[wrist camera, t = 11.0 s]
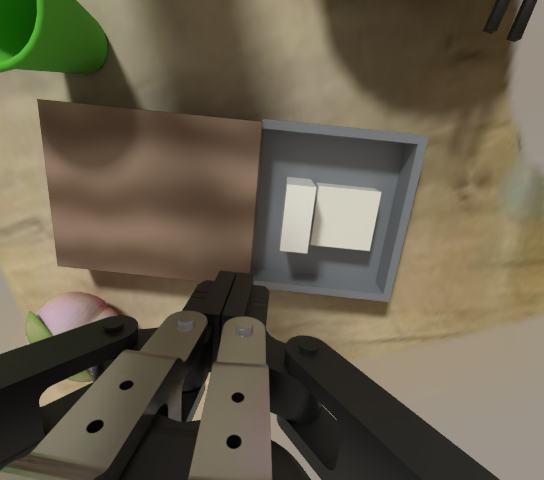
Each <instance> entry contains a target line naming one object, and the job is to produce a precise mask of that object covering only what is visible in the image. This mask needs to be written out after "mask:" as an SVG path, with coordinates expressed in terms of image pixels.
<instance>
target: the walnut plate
mask: <svg viewBox="0 0 544 480" xmlns="http://www.w3.org/2000/svg"><path fill="white" fill-rule="evenodd" d="M37 102H38V110H39V118H40V126H41V134H42V142H43V150H44V158H45V167H46V175H47V183H48V191H49V199H50V207H51V215H52V223H53V231H54V240H55V248H56V256H57V264H58V266H62V267H71V268H81V269H90V270H99V271H109V272H118V273H127V274H137V275H146V276H155V277H165V278H174V279H183V280H192V281H202V282H204V281H205V280H212V281H215V279H216V277H217V275H218V273H219V271H220V270H222V271H232V272H237V273H238V272H242V273H251V272H252V268H253V256H254V244H255V232H256V220H257V208H258V197H259V185H260V173H261V161H262V149H263V137H264V129H262V122H258V121H248V120H238V119H228V118H219V117H209V116H199V115H189V114H179V113H169V112H159V111H149V110H140V109H130V108H120V107H110V106H100V105H90V104H80V103H70V102H60V101H51V100H41V99H37Z"/></svg>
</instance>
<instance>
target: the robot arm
mask: <svg viewBox="0 0 544 480" xmlns="http://www.w3.org/2000/svg"><path fill="white" fill-rule="evenodd" d="M268 301H269V291H268V290H267V288H266V287H265V286H260V285H254V274H251V273H242V272H238V273H237V272H232V271H222V270H220V271H219V273H218V275H217V277H216V279H215V281H212V280H205V281H204V282H202V283H200V284H199V285H198V286H197V287H196V289H195V291H194V292H193V294H192V296H191V297H190V299H189V300H188V302H187V304H186V305H185V307H184V309H183V310H182V311H180V312H176V313H174V314H171V315H170V316H168V317H167V318H166V319H165V321H164V322H163V323H162V324H161V325H160V327H158V328H150V329H139V330H138V322H137V321H136V320H135V319H134V318H132V317H129V316H122V315H119V316H111V317H107V318H103V319H100V320H98V321H95V322H92V323H89V324H86V325H83V326H80V327H77V328H74V329H72V330H69V331H66V332H63V333H60V334H57V335H54V336H51V337H48V338H46V339H43V340H40V341H37V342H34V343H31V344H28V345H26V346H23V347H20V348H17V349H14V350H11V351H8V352H5V353H2V354H0V480H311V479H310V478H309V476H308V475H307V474H306V472H305V471H304V470H303V468H302V467H301V465H300V464H299V463H298V461H297V460H296V459H295V458H294V457H293V456H292V455H291V454H290V453H289V452H288V451H287V450H286V449H284V448H283V447H282V446H280V445H279V444H277V443H276V442H274V441H272V440H271V430H270V429H271V428H270V412H271V413H274V414H277V421H278V424H279V426H280V427H281V429H282V430H283V431H284V433H285V434H286V435H287V436H288V438H289V439H290V440H291V442H292V443H293V444H294V445H295V447H296V448H297V449H298V450H299V452H300V453H301V454H302V456H303V457H304V458H305V459H306V461H307V462H308V463H309V464H310V466H311V467H312V468H313V470H314V471H315V472H316V473H317V475H318V476H319V477H320V478H321V480H499V479H498V478H497V477H496V476H494V475H493V474H492V473H491V472H489V471H488V470H487V469H485V468H484V467H483V466H481V465H480V464H479V463H478V462H476V461H475V460H474V459H473V458H471V457H470V456H469V455H468V454H466V453H465V452H464V451H462V450H461V449H460V448H458V447H457V446H456V445H455V444H453V443H452V442H451V441H450V440H448V439H447V438H446V437H445V436H443V435H442V434H440V433H439V432H438V431H437V430H436V429H434V428H433V427H432V426H430V425H429V424H428V423H426V422H425V421H424V420H423V419H421V418H420V417H419V416H418V415H416V414H415V413H414V412H413V411H411V410H410V409H409V408H407V407H406V406H405V405H404V404H402V403H401V402H400V401H398V400H397V399H396V398H395V397H393V396H392V395H391V394H390V393H388V392H387V391H386V390H384V389H383V388H382V387H381V386H379V385H378V384H376V383H375V382H374V381H373V380H372V379H370V378H369V377H368V376H366V375H365V374H364V373H363V372H361V371H360V370H359V369H358V368H356V367H355V366H354V365H352V364H351V363H350V362H349V361H347V360H346V359H345V358H343V357H342V356H341V355H340V354H338V353H337V352H336V351H335V350H333V349H332V348H331V347H329V346H328V345H327V344H326V343H324V342H323V341H321V340H319V339H317V338H315V337H311V336H296V337H293V338H291V339H290V340H289V341H288V342H287V343H283V342H281V341H278V340H276V339H274V338H273V337H271V336H270V335H269V333H268V332H267V330H266V320H267V310H268ZM89 368H92V373H93V383H91V384H89V385H87V386H85V387H83V388H80V389H78V390H76V391H74V392H72V393H70V394H68V395H66V396H64V397H62V398H60V399H58V400H56V401H53V402H52V403H49V404H47V405H45V406H43V407H40V406H39V399H40V396H41V395H42V393H43V392H44V391H45V390H46V389H47V388H48V387H50V386H52V385H54V384H56V383H58V382H60V381H62V380H65V379H67V378H69V377H71V376H74V375H76V374H78V373H80V372H83V371H85V370H87V369H89ZM209 372H211V375H210V380H209V384H208V389H207V394H206V398H205V403H204V408H203V412H202V418H201V420H197V421H192V419H193V417H194V414H195V412H196V410H197V407H198V405H199V403H200V400H201V398H202V395H203V393H204V391H205V381H206V379H207V376H208V373H209ZM322 405H323V406H324V407H325V408H326V409H327V410H328V411H329V412H330V413H331V414H332V415H333V416H334V417H335V418H336V419H337V420H336V419H335V418H334V417H333V416H332V415H331V414H330V413H329V412H328V411H327V410H326V409H325V408H324V407H323V406H322Z"/></svg>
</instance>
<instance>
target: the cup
mask: <svg viewBox="0 0 544 480" xmlns="http://www.w3.org/2000/svg"><path fill="white" fill-rule="evenodd" d="M106 56H107V40H106V37H105V34H104V32H103V29H102V28H101V26H100V25H99V23H98V22H97V21H96V20H95V19H94V18H93V17H92V16H91V15H90V14H89V13H88V12H87V11H86V10H85V9H84V8H83V7H82V6H81V5H80V4H79V3H78V2H77V1H76V0H0V72H4V71H8V70H12V69H22V70H36V71H50V72H64V73H78V74H88V73H92V72H94V71H96V70H98V69H99V68H100V67H101V66H102V65H103V63H104V61H105V60H106Z"/></svg>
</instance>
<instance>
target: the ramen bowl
mask: <svg viewBox="0 0 544 480" xmlns="http://www.w3.org/2000/svg"><path fill="white" fill-rule="evenodd" d="M509 2H510V0H497V1H496V3H495V6H494V8H493V10H492V12H491V14H490V16H489V19H488V21H487V23H486V25H485V27H484V29H483V31H484V32H487V33H490V34H492V33H493V32H495V31H497V29H498V27H499V24H500V22H501V20H502V18H503V15H504V13H505V11H506V9H507V6H508V4H509ZM536 2H537V0H523V2H522V5H521V7H520V9H519V12H518V14H517V16H516V18H515V21H514V23H513V25H512V28H511V30H510V32H509V35H508V37H507V39H506V40H510V41H513V42H515V41H518V40H520V39H521V38H522V35H523V33H524V31H525V28H526V26H527V23H528V21H529V19H530V16H531V14H532V12H533V9H534V7H535V4H536Z"/></svg>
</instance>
